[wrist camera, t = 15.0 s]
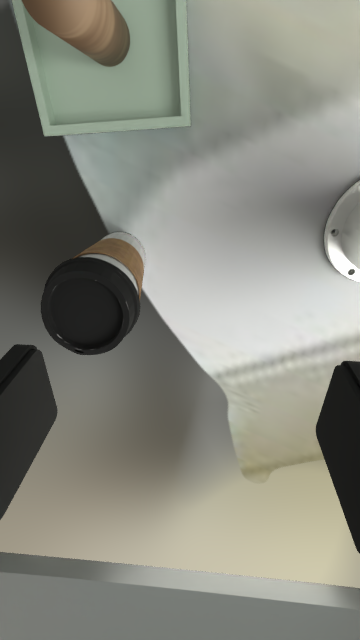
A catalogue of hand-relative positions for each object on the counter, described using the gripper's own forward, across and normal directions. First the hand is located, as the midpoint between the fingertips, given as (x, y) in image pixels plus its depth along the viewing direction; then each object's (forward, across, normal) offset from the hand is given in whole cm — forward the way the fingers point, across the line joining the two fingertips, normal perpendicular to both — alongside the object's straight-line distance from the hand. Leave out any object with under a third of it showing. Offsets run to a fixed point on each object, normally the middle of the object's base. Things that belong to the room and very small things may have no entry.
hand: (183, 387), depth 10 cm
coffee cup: (+29, +10, +6) cm, 31 cm away
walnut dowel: (+28, +9, -14) cm, 32 cm away
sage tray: (+29, +9, -14) cm, 33 cm away
